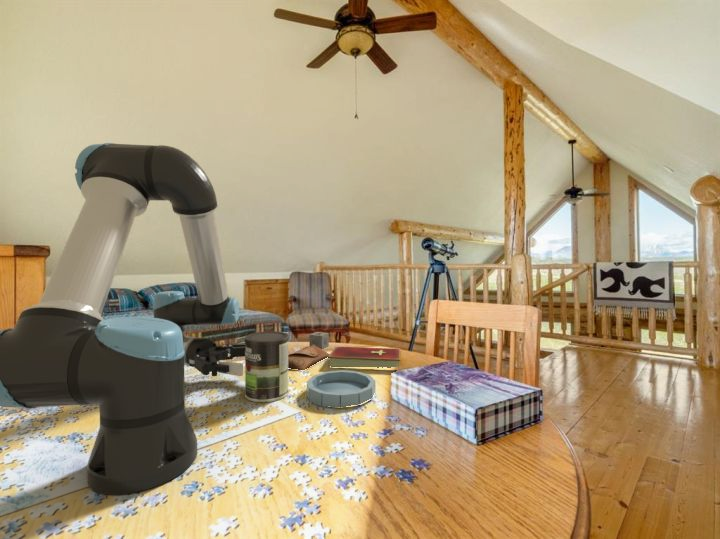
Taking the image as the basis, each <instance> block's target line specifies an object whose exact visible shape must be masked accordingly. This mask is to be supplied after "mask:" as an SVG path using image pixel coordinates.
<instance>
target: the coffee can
mask: <svg viewBox="0 0 720 539" xmlns="http://www.w3.org/2000/svg"><path fill="white" fill-rule="evenodd" d="M289 337H290V335H289V334H288V333H286V332H284V331H283V332H282V331H260V332H258V331H257V332H253V333H250V334H246V335H245V336H244V338H243V339H244V344H245V356H244V361H245V362H244V364H245V365H244V367H245V368H244V372H245V378H244V379H245V380H244V381H245V382H244V384H245V385H244V388H245V389H244V390H245V392H244V393H245V394H244V396H245V399H246V400H248V401H250V402H252V403H272V402H276V401H280V400H282V399H284V398H285V397H287V396H288V395H289V393H290V391H289V369H288V355H289V339H290V338H289Z"/></svg>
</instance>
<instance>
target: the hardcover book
mask: <svg viewBox="0 0 720 539" xmlns="http://www.w3.org/2000/svg"><path fill="white" fill-rule="evenodd" d="M401 350H402V349H401V348H387V347H386V348H385V347H384V348H383V347H365V346H364V347H362V346H361V347H359V346H358V347H357V346H334V348H333V349H332V351H331V352H330V353H329V354H330V355H329V356H328V359H329V367H330V366H331V367H377V368H379V367H382V368H383V367H387V368H391V367H399V368H400V362H401V360H400V356H401V354H402V353H401V352H402V351H401ZM401 357H402V356H401Z"/></svg>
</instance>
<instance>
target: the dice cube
mask: <svg viewBox="0 0 720 539" xmlns="http://www.w3.org/2000/svg"><path fill="white" fill-rule="evenodd" d="M329 334H330V333H329V332H325V331H324V332H322V331H314V332H313V333H310V334H309V347H310V346H312V345H313V344H315V346H317V347H318V348H320V349H323V350H325V349H327V348H328V346H329V345H330V341H329V340H330V336H329ZM326 347H327V348H326ZM324 348H325V349H324Z"/></svg>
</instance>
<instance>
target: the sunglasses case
mask: <svg viewBox="0 0 720 539" xmlns="http://www.w3.org/2000/svg"><path fill="white" fill-rule="evenodd" d="M329 355H330V353H328V352H326V351H325V350H324V349H323V350H322V349H320V348H318V347H317V346H315V344H313V345H312V346H310V345H309V346H308V347H305V348H303V349H299V350H298V351H295V352H292V353H288V368H291V369H298V370H305V369H307V368H309V367H310V366H312V365H314V364H316V363H317V362H319V361H321V360H323V359H325V358H327V357H328V356H329ZM325 360H326V359H325ZM316 365H317V364H316ZM314 366H315V365H314ZM312 367H313V366H312ZM310 368H311V367H310ZM310 368H309V369H310ZM307 370H308V369H307Z"/></svg>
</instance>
